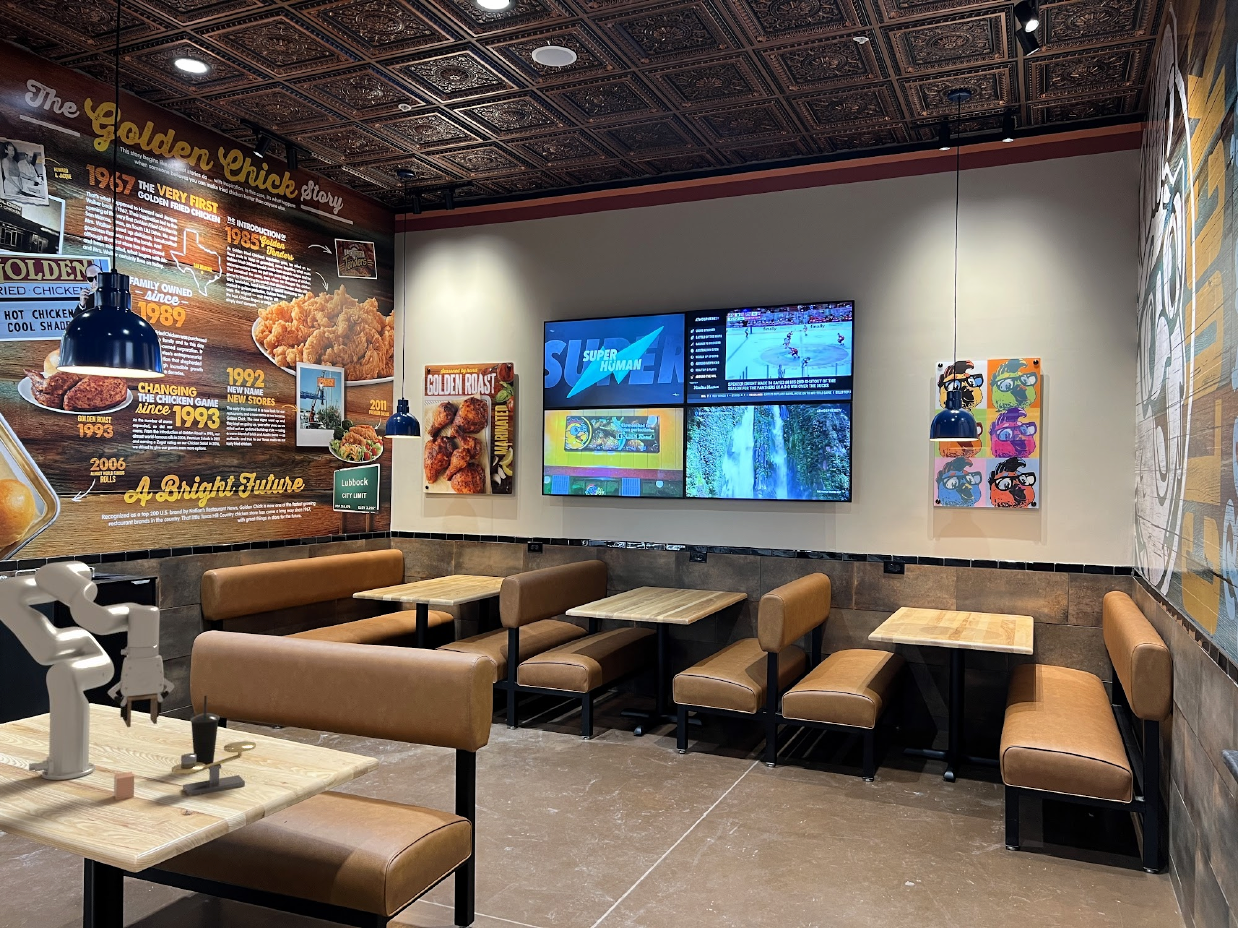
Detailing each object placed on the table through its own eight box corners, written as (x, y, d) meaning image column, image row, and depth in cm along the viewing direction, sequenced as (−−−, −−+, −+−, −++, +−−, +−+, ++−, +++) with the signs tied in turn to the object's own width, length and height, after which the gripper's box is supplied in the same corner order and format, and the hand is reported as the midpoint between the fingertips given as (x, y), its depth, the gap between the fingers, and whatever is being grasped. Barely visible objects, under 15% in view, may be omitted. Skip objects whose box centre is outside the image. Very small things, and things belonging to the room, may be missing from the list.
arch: (127, 727, 241) (128, 697, 242) (124, 721, 246) (125, 693, 246) (156, 723, 245) (157, 694, 246) (153, 718, 250) (154, 690, 250)
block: (116, 800, 232) (116, 778, 232) (113, 795, 235) (114, 774, 235) (133, 797, 234) (134, 775, 234) (131, 792, 238) (131, 771, 238)
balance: (174, 799, 233) (175, 760, 233) (168, 790, 239) (169, 752, 239) (258, 784, 245) (259, 746, 245) (250, 776, 252) (251, 739, 252)
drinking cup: (207, 770, 256) (208, 699, 256) (183, 768, 257) (184, 697, 258) (224, 762, 263) (225, 693, 264) (200, 760, 265) (202, 691, 265)
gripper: (108, 657, 238) (105, 725, 238) (180, 651, 248) (178, 716, 248) (104, 652, 244) (102, 718, 244) (175, 646, 254) (173, 710, 254)
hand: (140, 717), depth 246 cm, fingers closed on arch, 7 cm apart
